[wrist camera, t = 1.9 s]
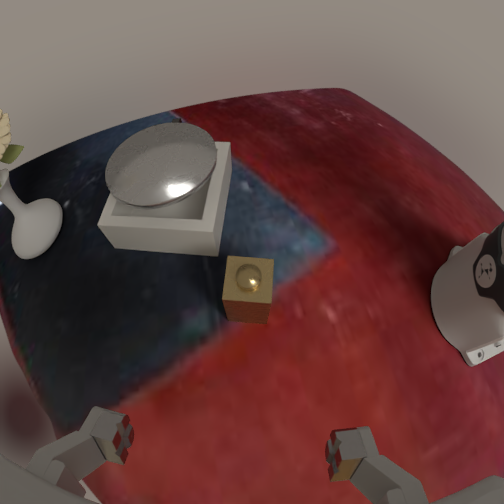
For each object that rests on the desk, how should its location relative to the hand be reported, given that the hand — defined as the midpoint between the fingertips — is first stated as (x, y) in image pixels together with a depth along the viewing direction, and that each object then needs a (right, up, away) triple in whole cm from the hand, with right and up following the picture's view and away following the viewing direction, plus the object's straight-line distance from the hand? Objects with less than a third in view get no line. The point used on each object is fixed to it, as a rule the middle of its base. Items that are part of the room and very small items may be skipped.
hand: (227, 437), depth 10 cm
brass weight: (+1, +1, +25) cm, 25 cm away
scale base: (-10, +14, +32) cm, 36 cm away
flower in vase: (-34, +11, +30) cm, 46 cm away
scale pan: (-10, +17, +28) cm, 34 cm away
